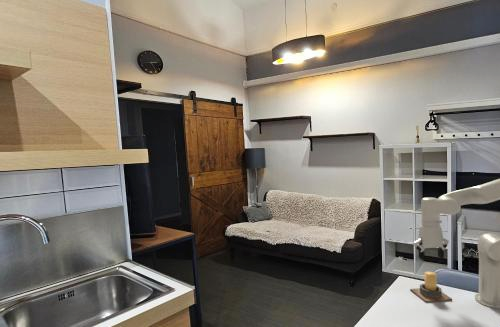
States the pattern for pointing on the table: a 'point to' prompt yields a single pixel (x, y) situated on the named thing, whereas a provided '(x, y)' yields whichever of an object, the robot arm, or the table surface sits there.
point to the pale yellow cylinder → (430, 281)
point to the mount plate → (416, 291)
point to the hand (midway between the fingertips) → (431, 258)
